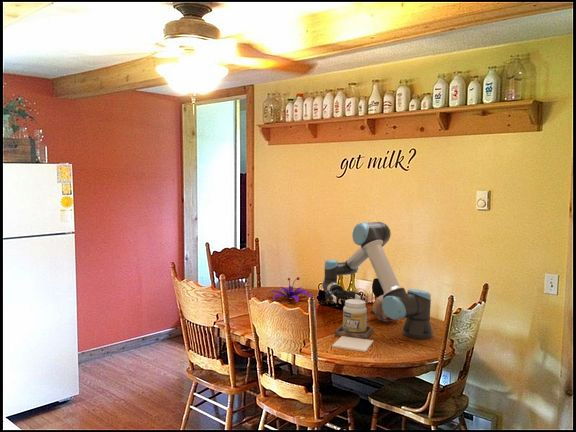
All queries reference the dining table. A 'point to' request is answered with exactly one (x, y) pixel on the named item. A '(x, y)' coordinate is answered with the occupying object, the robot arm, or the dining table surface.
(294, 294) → the decorative flower
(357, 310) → the supplement tub
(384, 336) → the dining table surface
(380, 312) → the ornament
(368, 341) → the off-white mat
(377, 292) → the wine glass
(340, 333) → the walnut collar
